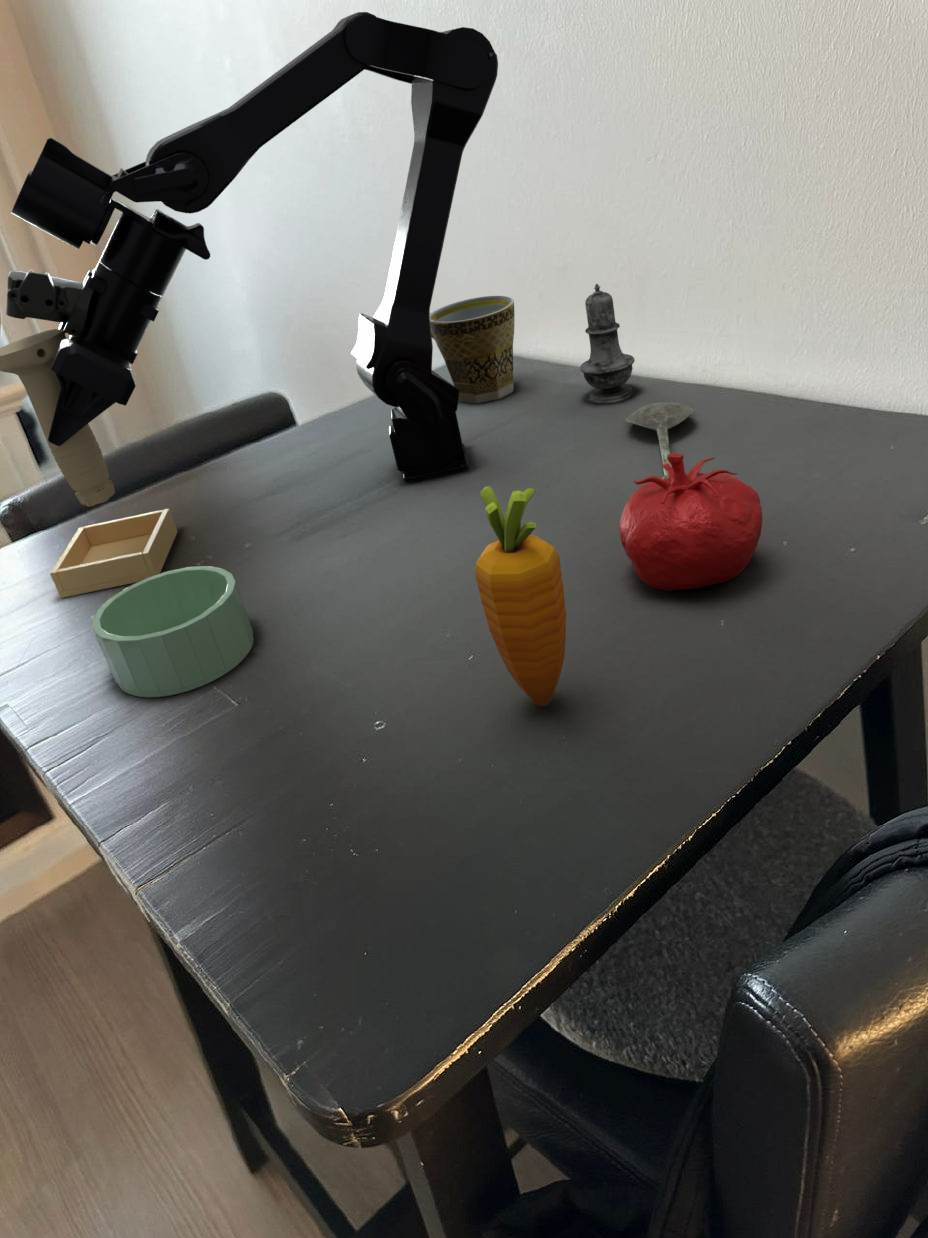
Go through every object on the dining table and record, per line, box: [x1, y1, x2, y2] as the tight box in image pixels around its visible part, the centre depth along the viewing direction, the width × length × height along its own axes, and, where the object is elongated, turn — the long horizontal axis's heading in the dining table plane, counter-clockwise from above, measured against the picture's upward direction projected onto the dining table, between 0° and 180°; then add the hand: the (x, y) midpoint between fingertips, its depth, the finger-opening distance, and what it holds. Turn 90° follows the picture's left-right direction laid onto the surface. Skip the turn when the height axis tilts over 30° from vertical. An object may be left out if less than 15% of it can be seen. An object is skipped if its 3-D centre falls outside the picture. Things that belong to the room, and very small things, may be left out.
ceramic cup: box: [430, 295, 516, 404], centre depth 119 cm, size 13×10×10 cm
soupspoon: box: [625, 401, 695, 479], centre depth 94 cm, size 22×3×7 cm
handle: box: [0, 328, 116, 507], centre depth 91 cm, size 5×6×15 cm
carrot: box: [474, 485, 567, 708], centre depth 61 cm, size 5×5×15 cm
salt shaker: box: [579, 283, 637, 405], centre depth 109 cm, size 6×6×12 cm
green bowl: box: [91, 565, 255, 698], centre depth 78 cm, size 11×11×5 cm
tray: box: [49, 508, 178, 599], centre depth 97 cm, size 9×10×3 cm
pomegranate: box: [618, 452, 763, 592], centre depth 73 cm, size 10×10×9 cm
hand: (54, 437), depth 91 cm, fingers closed on handle, 3 cm apart
